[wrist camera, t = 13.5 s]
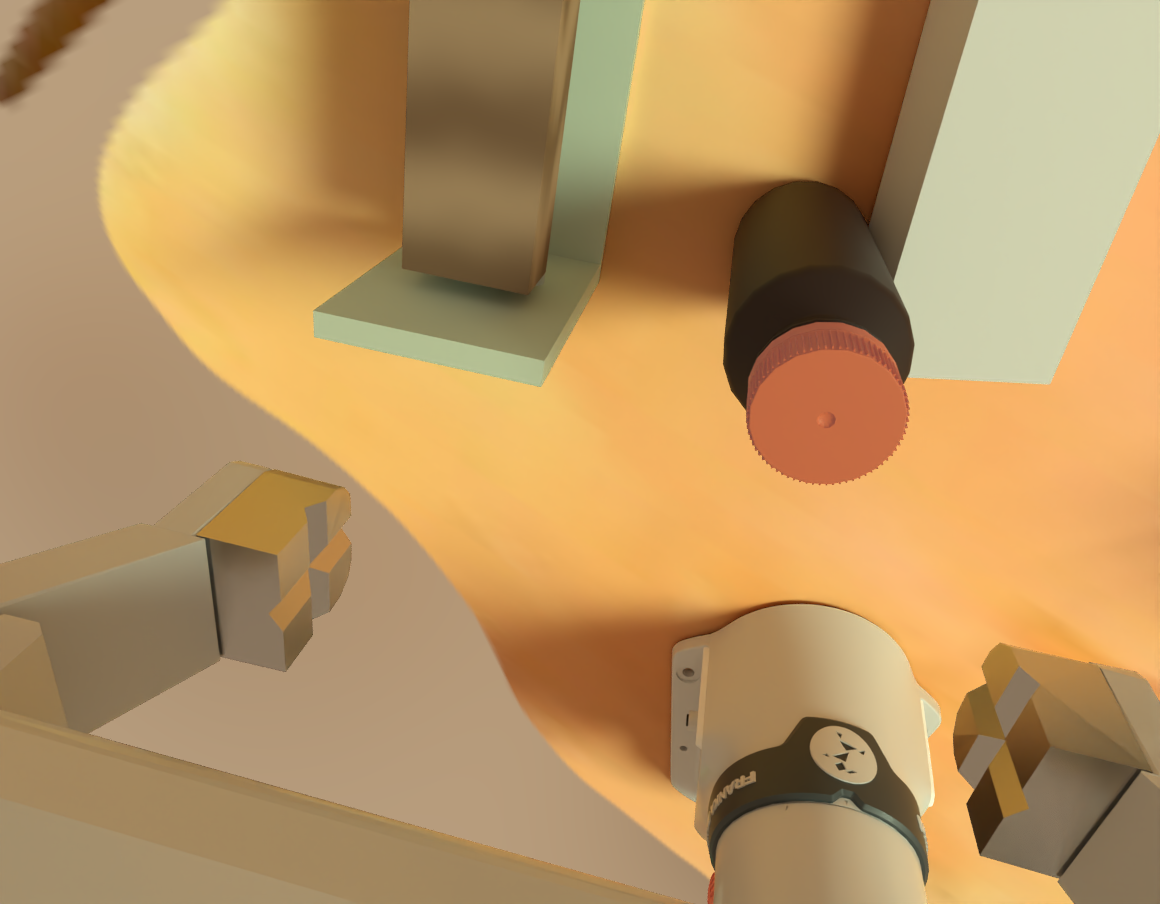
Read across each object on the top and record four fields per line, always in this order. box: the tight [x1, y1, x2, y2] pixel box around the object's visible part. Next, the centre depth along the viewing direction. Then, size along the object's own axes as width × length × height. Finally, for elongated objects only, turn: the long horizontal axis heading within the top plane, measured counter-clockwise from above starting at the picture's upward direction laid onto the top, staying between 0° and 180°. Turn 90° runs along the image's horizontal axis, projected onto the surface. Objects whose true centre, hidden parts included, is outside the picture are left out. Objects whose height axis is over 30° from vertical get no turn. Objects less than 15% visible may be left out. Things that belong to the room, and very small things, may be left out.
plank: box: [402, 0, 580, 295], centre depth 34 cm, size 14×6×4 cm, turn 171°
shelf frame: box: [313, 0, 645, 387], centre depth 35 cm, size 19×10×14 cm, turn 171°
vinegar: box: [723, 182, 915, 485], centre depth 33 cm, size 7×7×20 cm
